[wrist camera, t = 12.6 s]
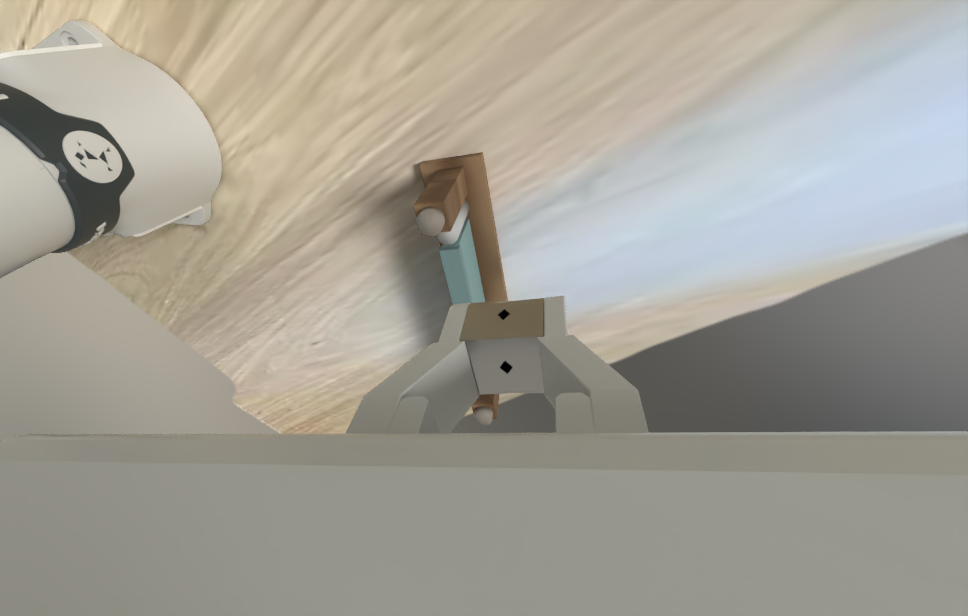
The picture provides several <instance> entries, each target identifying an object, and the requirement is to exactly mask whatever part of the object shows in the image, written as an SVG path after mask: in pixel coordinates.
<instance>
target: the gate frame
mask: <svg viewBox="0 0 968 616" xmlns="http://www.w3.org/2000/svg"><path fill="white" fill-rule="evenodd" d="M419 166H420V170H421V174H422V178H423V181H424V185H425V190H424V192H423V193H422V194H421V196H420V197H419V199H418V200H417V201H416V203H415V204H414V210H415V213H416V216H417V220H416V225H417V228H418V229H419V231H420V232H421V234H422V235H423V234H424V235H426V236H436V235H438V234H439V233H441V232H450V231H451V230H452V228H453V225H454V223H455V221H456V219H457V216H458V214H459V212H460V210H461V207H462V205H463V203H464V201H465V200H466V201H467V203H468V205H469V212H468V215H467V217H466V219H467V218H469V221H470V226H471V231H472V237H473V242H474V247H475V252H476V257H477V262H478V267H479V272H480V277H481V282H482V287H483V293H484V298H485V302H498V301H508V299H507V293H506V287H505V281H504V275H503V269H502V263H501V257H500V252H499V246H498V240H497V234H496V228H495V222H494V216H493V211H492V205H491V199H490V193H489V187H488V181H487V175H486V169H485V164H484V158H483V152H482V153H476V154H469V155H463V156H456V157H450V158H443V159H437V160H430V161H424V162H421V163H420V164H419ZM439 242H440V241H439ZM440 245H441V247H442V246H443V243H441V242H440ZM498 401H499V394H482V395H479V397H478V399H477V400H476V401H475V402H474V403H473V405H472V409H473V412H474V421H475V422H476V423H477V424H480V425H489V424H490V423H491V422H492V419H496V418H497V409H498Z"/></svg>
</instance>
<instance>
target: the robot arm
mask: <svg viewBox="0 0 968 616" xmlns="http://www.w3.org/2000/svg"><path fill="white" fill-rule="evenodd" d="M77 43H78V44H77ZM221 172H222V164H221V156H220V151H219V147H218V144H217V141H216V138H215V136H214V133H213V131H212V129H211V127H210V125H209V123H208V121H207V120H206V118H205V116H204V115H203V113H202V112H201V110H200V109H199V107H198V106H197V105H196V103H195V102H194V101H193V100H192V98H191V97H190V96H189V95H188V94H187V93H186V92H185V90H184V89H183V88H182V87H181V86H180V85H179V84H178V83H177V82H175V81H174V80H173V79H172V78H171V77H170V76H168V75H167V74H166V73H165V72H163V71H162V70H161V69H159V68H158V67H156V66H155V65H153V64H151V63H150V62H148V61H146V60H144V59H142V58H140V57H138V56H136V55H134V54H132V53H130V52H127V51H126V50H124V49H122V48H120V47H119V46H117V45H116V44H115V43H114V42H113V41H112V40H110V39H109V38H108V37H107V36H106V35H105V34H103V33H102V32H101V31H100V30H99V29H97V28H96V27H95V26H93V25H92V24H90V23H89V22H87V21H85V20H74V21H69V22H67V23H65V24H64V25H63V26H61V27H60V28H59V29H57V30H56V31H55V32H53V33H52V34H51V35H50V36H48V37H47V38H46V39H44V40H43V41H42V42H40V43H39V44H38V45H36V46H35V47H34V48H33V49H27V50H17V51H8V52H2V53H0V278H1V277H3V276H5V275H7V274H9V273H11V272H12V271H14V270H16V269H18V268H20V267H22V266H24V265H26V264H28V263H30V262H32V261H34V260H36V259H38V258H40V257H42V256H44V255H46V254H49V253H61V252H66V251H68V250H71V249H73V248H77V247H80V246H84V245H86V244H89V243H91V242H93V241H95V240H96V239H97V238H99V237H104V236H110V235H114V234H117V235H120V236H121V237H129V236H133V237H140V236H143V235H145V234H148V233H150V232H152V231H154V230H156V229H158V228H161V227H163V226H165V225H167V224H169V223H173V224H186V225H202V224H205V223H207V222H209V220H210V218H211V198H212V196H213V194H214V193H215V191H216V189H217V187H218V185H219V182H220V179H221ZM501 393H544V394H545V396H546V397H547V399H548V400H549V401H550V403H551V404H552V406H553V407H554V408H555V409H556V433H450V432H451V430H452V429H453V428H454V427H455V426H456V424H457V423H458V422H459V421H460V419H461V418H462V417H463V416H464V415H465V413H466V412H467V411H468V410H469V408H470V407H471V406H472V405H473V403H474V402H475V401H476V400H477V399H478V397H479V395H482V394H501ZM0 616H968V432H721V433H720V432H718V433H717V432H711V433H710V432H707V433H649V432H648V428H647V424H646V420H645V416H644V412H643V408H642V404H641V400H640V396H639V392H638V390H637V389H636V388H635V387H634V386H633V385H631V384H630V383H629V382H628V381H627V380H626V379H624V378H623V377H622V376H621V375H620V374H618V373H617V372H616V371H615V370H614V369H612V368H611V367H610V366H609V365H608V364H607V363H606V362H604V361H603V360H602V359H601V358H600V357H598V356H597V355H596V354H595V353H594V352H593V351H591V350H590V349H589V348H588V347H587V346H586V345H584V344H583V343H582V342H581V341H580V340H578V339H577V338H576V337H575V336H574V335H568V333H567V319H566V306H565V297H564V296H556V297H547V298H540V299H529V300H518V301H498V302H479V303H462V304H453V305H451V306H450V308H449V311H448V314H447V317H446V320H445V323H444V326H443V329H442V332H441V334H440V337H439V340H438V343H432V344H430V345H429V346H428V347H427V348H425V349H424V350H423V351H421V352H420V353H419V354H418V355H416V356H415V357H414V358H412V359H411V360H410V361H409V362H407V363H406V364H405V365H403V366H402V367H401V368H400V369H398V370H397V371H396V372H394V373H393V374H392V375H391V376H389V377H388V378H387V379H385V380H384V381H383V382H382V383H380V384H379V385H378V386H376V387H375V388H374V389H372V390H371V391H370V392H369V393H367V394H366V395H365V396H364V397H363V399H362V401H361V403H360V405H359V407H358V409H357V411H356V413H355V415H354V417H353V419H352V421H351V423H350V425H349V427H348V430H347V432H346V434H123V435H122V434H119V435H118V434H114V435H113V434H110V435H109V434H103V435H102V434H99V435H98V434H94V435H93V434H92V435H91V434H88V435H87V434H85V435H84V434H83V435H82V434H81V435H55V434H50V435H49V434H28V435H20V436H15V437H11V438H8V439H6V440H3V441H0Z"/></svg>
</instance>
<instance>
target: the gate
mask: <svg viewBox="0 0 968 616" xmlns="http://www.w3.org/2000/svg"><path fill="white" fill-rule="evenodd" d="M468 212H469V205H468V203H467V201H466V200H465V201H464V203H463V205H462V207H461V210H460V212H459V214H458V216H457V219H456V221H455V223H454V225H453V228H452V230H451V231H450V232H441V233H439V234H438V235H436V237H437V239H438V240H439V241H440V242H441V243H443V246H442V247H440V249H439V253H440V257H441V261H442V265H443V269H444V273H445V277H446V281H447V285H448V289H449V292H450V296H451V300H452V304H462V303H479V302H485V298H484V293H483V287H482V282H481V277H480V272H479V267H478V262H477V257H476V252H475V247H474V242H473V237H472V231H471V226H470V221H469V218H467V219H466V217H467V215H468Z"/></svg>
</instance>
